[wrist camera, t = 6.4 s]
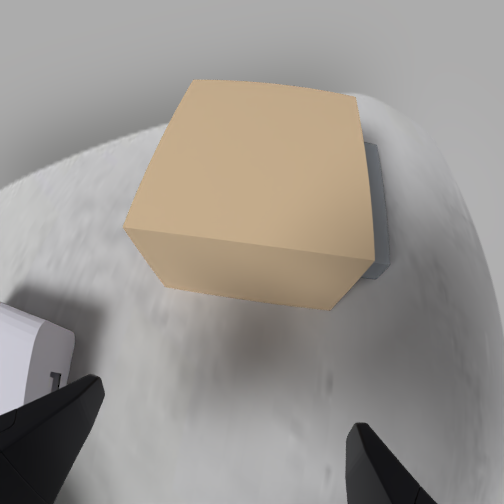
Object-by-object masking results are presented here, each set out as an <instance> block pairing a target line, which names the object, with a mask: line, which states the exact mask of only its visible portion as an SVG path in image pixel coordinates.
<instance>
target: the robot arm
mask: <svg viewBox="0 0 504 504" xmlns="http://www.w3.org/2000/svg"><path fill="white" fill-rule="evenodd" d="M104 396H105V392H104V388H103V384H102V380H101V378H100V377H98V376H95V375H93V374H89V375H87V376H85V377H83V378H81V379H79V380H77V381H74V382H72V383H70V384H68V385H66V386H64V387H62V388H60V389H58V390H55V391H53V392H51V393H49V394H47V395H45V396H43V397H40V398H38V399H36V400H34V401H32V402H29V403H27V404H25V405H23V406H21V407H18V408H16V409H14V410H11V411H9V412H7V413H4V414H2V415H0V504H53V503H54V501H55V499H56V497H57V495H58V493H59V491H60V489H61V487H62V485H63V483H64V481H65V479H66V477H67V475H68V473H69V471H70V469H71V467H72V465H73V463H74V461H75V459H76V457H77V455H78V454H79V452H80V450H81V448H82V446H83V444H84V442H85V440H86V439H87V437H88V435H89V433H90V431H91V429H92V427H93V424H94V422H95V419H96V417H97V414H98V412H99V409H100V407H101V404H102V402H103V399H104ZM345 478H346V490H347V502H348V504H437V503H436V502H435V501H434V500H433V499H432V498H431V497H430V496H429V495H428V494H427V493H426V491H425V490H424V489H423V488H422V487H420V485H419V483H418V482H417V481H416V480H415V479H414V478H413V477H412V475H411V474H410V473H409V472H408V471H407V470H406V468H405V467H404V466H403V465H402V464H401V463H400V462H399V460H398V459H397V458H396V457H395V456H394V454H393V453H392V452H391V451H390V450H389V449H388V447H387V446H386V445H385V444H384V443H383V442H382V440H381V439H380V438H379V437H378V436H377V434H376V433H375V432H374V431H373V430H372V429H371V427H370V426H369V425H368V424H367V423H355V424H354V425H353V427H352V429H351V431H350V432H349V434H348V436H347V439H346V474H345Z"/></svg>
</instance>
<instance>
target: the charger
mask: <svg viewBox="0 0 504 504" xmlns="http://www.w3.org/2000/svg"><path fill="white" fill-rule="evenodd" d="M74 345H75V335H74V333H73V332H72V331H70V330H67V329H65V328H63V327H61V326H58V325H56V324H54V323H52V322H50V321H47V320H45V319H42V318H39V317H37V316H34V315H31V314H29V313H26V312H24V311H21V310H19V309H16V308H14V307H11V306H9V305H7V304H4V303H2V302H0V415H2V414H4V413H7V412H9V411H11V410H14V409H16V408H18V407H21V406H23V405H25V404H27V403H29V402H32V401H34V400H36V399H38V398H40V397H43V396H45V395H47V394H49V393H51V392H53V391H55V390H57V388H58V382H59V376H60V373H61V379H60V385H59V389H60V388H62V387H64V386H66V385H67V380H68V375H69V370H70V365H71V360H72V355H73V350H74Z"/></svg>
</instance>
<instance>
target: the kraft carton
mask: <svg viewBox="0 0 504 504" xmlns="http://www.w3.org/2000/svg"><path fill="white" fill-rule="evenodd" d="M123 228H124V230H125V231H126V233H127V234H128V236H129V237H130V239H131V240H132V242H133V243H134V244H135V246H136V247H137V249H138V250H139V252H140V253H141V254H142V256H143V257H144V259H145V260H146V261H147V263H148V264H149V266H150V267H151V268H152V270H153V271H154V272H155V274H156V275H157V277H158V278H159V279H160V281H161V282H162V283H163V285H164V286H165V287H168V288H174V289H180V290H186V291H192V292H198V293H204V294H210V295H216V296H223V297H229V298H236V299H243V300H250V301H257V302H264V303H271V304H279V305H287V306H295V307H303V308H311V309H320V310H329V311H330V310H331V309H332V308H333V307H334V306H335V305H336V304H337V303H338V302H339V301H340V300H341V298H342V297H343V296H344V295H345V294H346V293H347V292H348V291H349V290H350V289H351V287H352V286H353V285H354V284H355V283H356V282H357V281H358V280H359V279H360V277H361V276H362V275H363V274H364V273H365V272H366V271H367V269H368V268H369V267H370V266H371V265H372V264H373V262H374V261H375V250H374V232H373V218H372V206H371V195H370V186H369V177H368V169H367V161H366V154H365V147H364V141H363V135H362V129H361V123H360V117H359V112H358V107H357V102H356V97H353V96H349V95H344V94H339V93H333V92H328V91H322V90H316V89H310V88H303V87H295V86H288V85H280V84H270V83H260V82H247V81H228V80H193V81H192V83H191V84H190V86H189V88H188V90H187V92H186V93H185V95H184V97H183V99H182V100H181V102H180V104H179V106H178V108H177V109H176V111H175V113H174V115H173V117H172V119H171V121H170V123H169V124H168V126H167V128H166V130H165V132H164V134H163V136H162V138H161V140H160V142H159V144H158V146H157V148H156V150H155V153H154V155H153V157H152V159H151V161H150V163H149V165H148V168H147V170H146V172H145V174H144V176H143V179H142V181H141V183H140V186H139V188H138V190H137V193H136V195H135V197H134V200H133V202H132V205H131V207H130V210H129V212H128V215H127V217H126V220H125V222H124V225H123Z"/></svg>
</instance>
